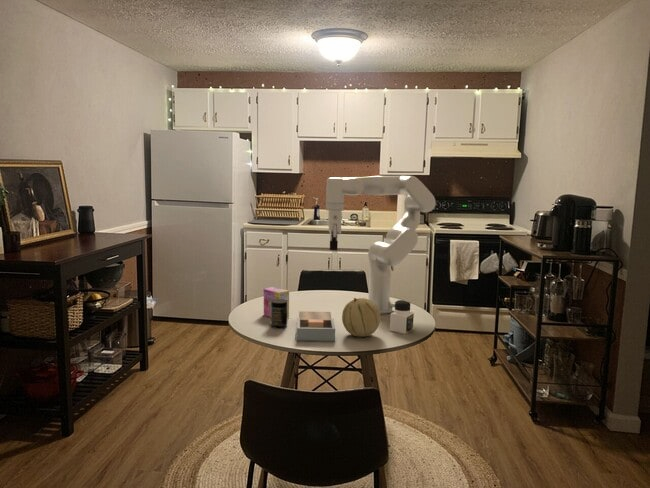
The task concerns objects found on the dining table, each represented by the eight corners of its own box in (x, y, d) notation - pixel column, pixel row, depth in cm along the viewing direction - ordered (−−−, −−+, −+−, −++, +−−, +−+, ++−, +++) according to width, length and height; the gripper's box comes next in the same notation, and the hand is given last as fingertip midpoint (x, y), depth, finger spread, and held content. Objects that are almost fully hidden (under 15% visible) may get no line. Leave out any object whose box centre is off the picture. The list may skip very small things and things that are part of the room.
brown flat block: (330, 321, 207) (330, 311, 207) (331, 330, 196) (331, 320, 195) (299, 320, 207) (299, 311, 206) (298, 329, 195) (298, 319, 194)
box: (263, 315, 214) (263, 288, 212) (273, 312, 218) (273, 286, 216) (279, 320, 207) (279, 292, 205) (289, 317, 211) (289, 290, 209)
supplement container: (288, 328, 196) (289, 302, 195) (271, 329, 195) (271, 303, 193) (285, 323, 203) (286, 298, 201) (269, 324, 201) (269, 299, 200)
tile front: (323, 319, 188) (323, 322, 185) (322, 333, 189) (323, 336, 186) (308, 319, 187) (308, 322, 184) (308, 333, 188) (308, 336, 185)
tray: (332, 330, 195) (333, 317, 195) (334, 342, 181) (335, 328, 181) (297, 329, 195) (297, 317, 194) (296, 341, 181) (296, 328, 180)
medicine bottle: (406, 334, 193) (407, 304, 191) (389, 330, 197) (390, 301, 195) (413, 329, 199) (414, 300, 197) (396, 326, 203) (398, 298, 201)
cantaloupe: (387, 338, 187) (389, 299, 185) (356, 344, 179) (358, 304, 177) (364, 327, 200) (365, 291, 198) (333, 333, 192) (335, 295, 190)
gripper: (345, 208, 202) (343, 252, 204) (342, 206, 217) (341, 247, 219) (326, 207, 201) (325, 252, 204) (325, 205, 216) (324, 247, 219)
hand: (333, 249), depth 211 cm, fingers closed
